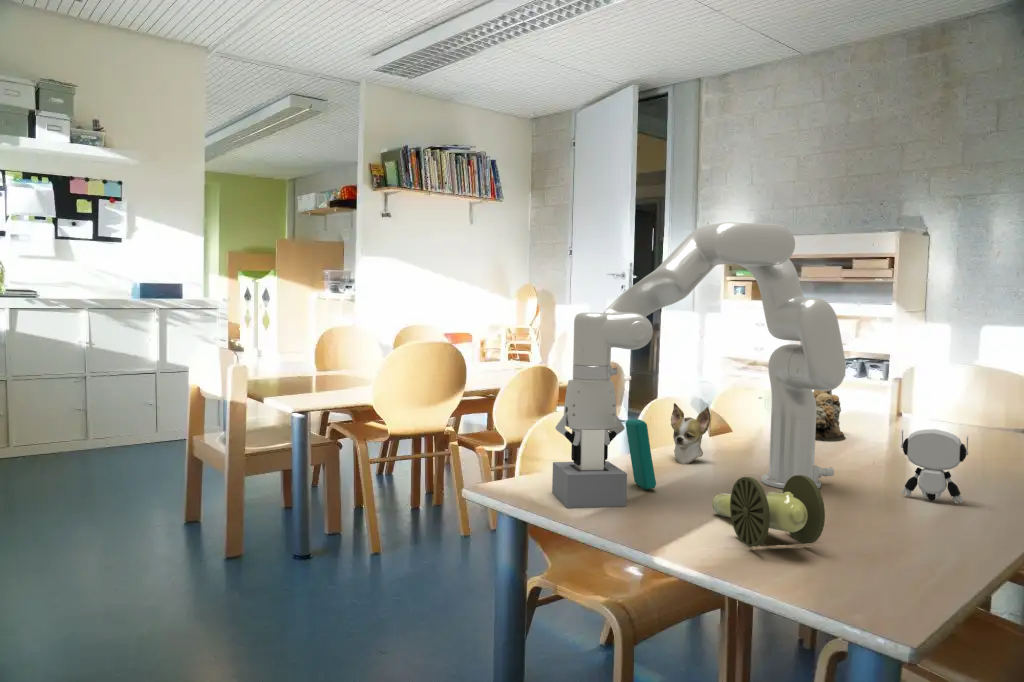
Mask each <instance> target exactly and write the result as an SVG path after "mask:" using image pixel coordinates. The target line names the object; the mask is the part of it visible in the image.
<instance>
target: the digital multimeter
mask: <svg viewBox="0 0 1024 682" xmlns="http://www.w3.org/2000/svg"><path fill="white" fill-rule="evenodd" d="M625 429H626V435H627V442H628V447H629V454H630V460H631V468H632V473H633V474H632V476H633V480H634V483H635V484H636V485H637V486H638V487H639V486H640V487H639V488H640V489H642V488H643V489H642V490H649V489H654V488H656V486H657V482H656V481H657V480H656V474H655V469H654V463H653V457H652V452H651V451H652V450H651V445H650V444H651V443H650V438H649V429H648V424H647V423H646V422H645V421H644V420H641V419H639V418H638V419H637V418H634V419H629V420H626V421H625Z"/></svg>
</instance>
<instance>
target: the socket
mask: <svg viewBox="0 0 1024 682" xmlns="http://www.w3.org/2000/svg"><path fill="white" fill-rule="evenodd" d="M551 480H552V484H551V485H552V486H551V488H552V489H551V493H552V495H554V496H555V498H557V500H559V502H560V503H561V504H562V505H564V506H565V508H566V509H577V508H578V509H581V508H582V509H584V508H588V509H589V508H615V507H617V508H618V507H619V508H620V507H622V508H623V507H627V494H628V493H627V492H628V491H627V490H628V473H627V472H625V470H622V469H621V468H619V467H618V466H616V465H615V464H613V463H611V462H610V461H608V460H605V465H604V471H580V472H578V471H576V470H575V463H574V461H553V462H552V479H551Z"/></svg>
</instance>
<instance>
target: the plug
mask: <svg viewBox="0 0 1024 682" xmlns="http://www.w3.org/2000/svg"><path fill="white" fill-rule="evenodd" d="M604 437H605V430H604V429H603V430H581V437H580V441H579V442H580V446H581V460H580V465H576V464H575V470H576V471H578V472H580V471H604Z"/></svg>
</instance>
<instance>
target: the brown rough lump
mask: <svg viewBox="0 0 1024 682" xmlns="http://www.w3.org/2000/svg"><path fill="white" fill-rule="evenodd" d="M832 391H833V390H829V391H818V390H813V391H812V392H813V394H814V397H815V401H816V411H817V412H816V433H815V442H816V441H817V442H827V443H829V442H830V443H831V442H835V443H836V442H841V441H845V440H846V436H845V435H844V434H845V433H843V431H841V427H840V421H839V420H840V414H841V411H842V407H841V401H840V396H838V395H836V394H833V392H832Z"/></svg>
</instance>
